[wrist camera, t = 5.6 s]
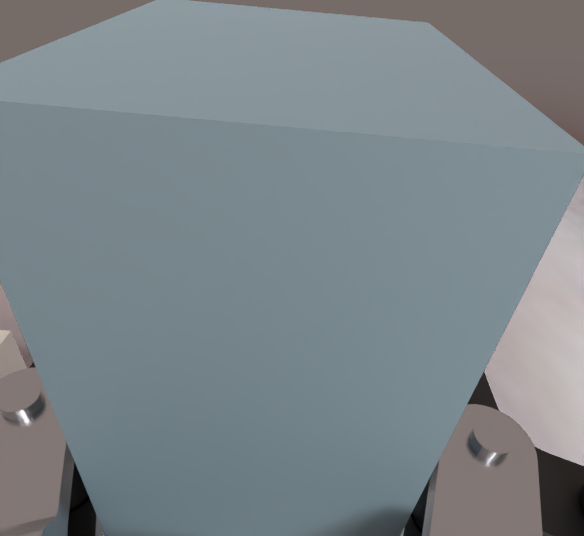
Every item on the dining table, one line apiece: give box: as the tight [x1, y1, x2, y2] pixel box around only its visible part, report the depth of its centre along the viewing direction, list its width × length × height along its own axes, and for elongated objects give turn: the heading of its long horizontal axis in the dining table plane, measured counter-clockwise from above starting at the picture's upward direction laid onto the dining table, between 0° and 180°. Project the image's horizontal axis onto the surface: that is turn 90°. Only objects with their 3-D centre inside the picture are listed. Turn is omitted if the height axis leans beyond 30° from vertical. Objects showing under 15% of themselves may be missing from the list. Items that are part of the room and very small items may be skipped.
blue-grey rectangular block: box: [0, 0, 584, 536], centre depth 8 cm, size 4×5×12 cm
